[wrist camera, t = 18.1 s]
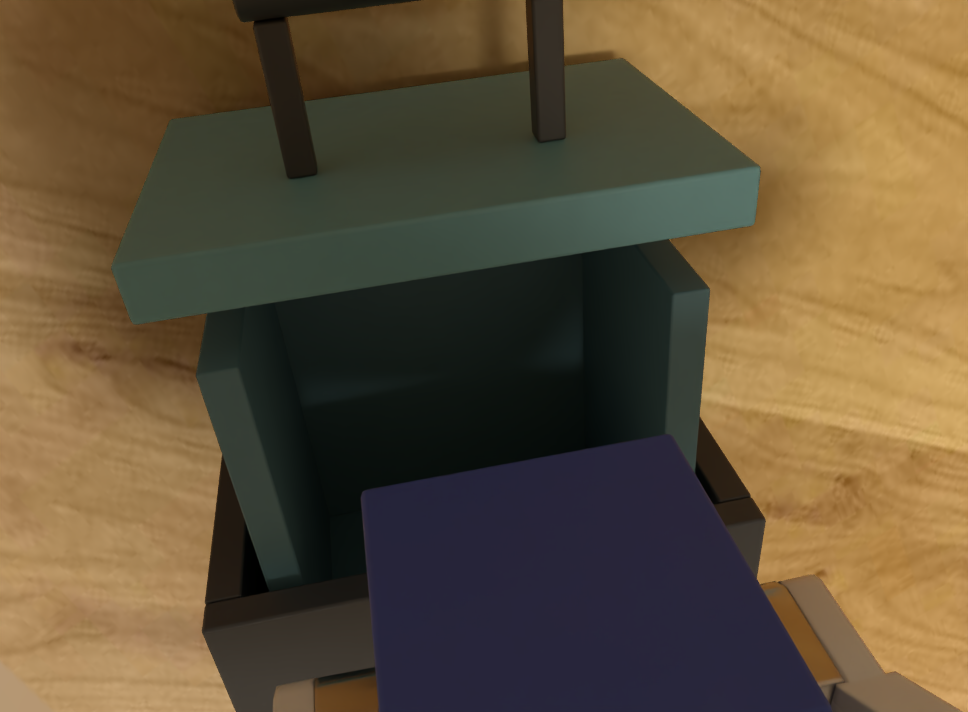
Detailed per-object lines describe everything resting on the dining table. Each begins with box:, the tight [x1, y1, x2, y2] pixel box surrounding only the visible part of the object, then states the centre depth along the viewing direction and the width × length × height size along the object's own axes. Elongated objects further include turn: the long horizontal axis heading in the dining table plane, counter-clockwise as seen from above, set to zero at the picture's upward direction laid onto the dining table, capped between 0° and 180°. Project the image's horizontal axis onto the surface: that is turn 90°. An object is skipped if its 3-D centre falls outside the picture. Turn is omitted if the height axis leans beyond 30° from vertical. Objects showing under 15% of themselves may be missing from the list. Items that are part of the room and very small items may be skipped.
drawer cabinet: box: [202, 417, 766, 712], centre depth 26 cm, size 15×13×10 cm
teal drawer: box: [111, 0, 761, 592], centre depth 20 cm, size 18×11×8 cm, turn 5°
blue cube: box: [361, 434, 832, 712], centre depth 11 cm, size 4×4×4 cm
